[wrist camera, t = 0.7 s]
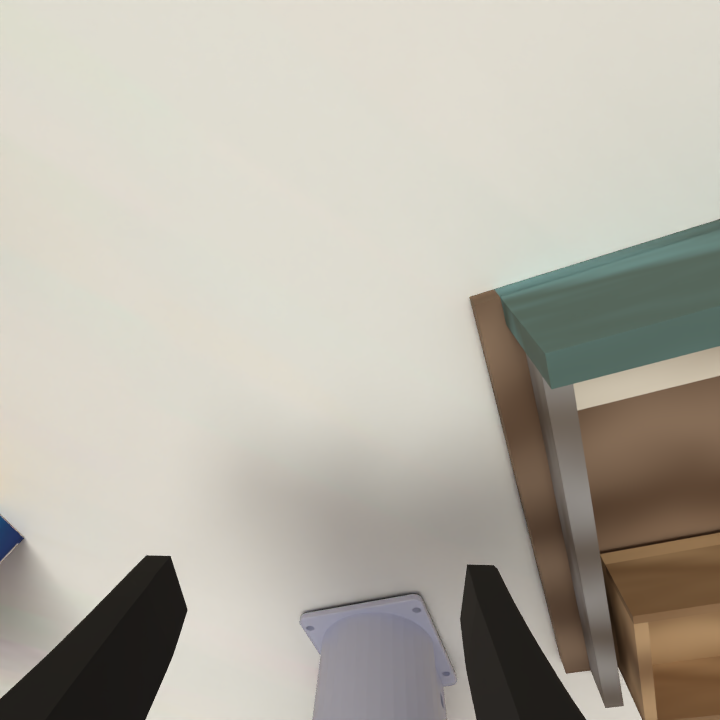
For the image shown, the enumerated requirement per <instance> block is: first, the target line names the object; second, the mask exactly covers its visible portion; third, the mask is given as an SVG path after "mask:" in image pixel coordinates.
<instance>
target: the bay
mask: <svg viewBox="0 0 720 720" xmlns="http://www.w3.org/2000/svg"><path fill="white" fill-rule="evenodd" d="M470 301H471V305H472V309H473V313H474V317H475V321H476V325H477V329H478V333H479V336H480V340H481V344H482V348H483V352H484V356H485V360H486V364H487V368H488V372H489V376H490V380H491V384H492V388H493V392H494V396H495V400H496V404H497V408H498V412H499V416H500V420H501V424H502V428H503V432H504V436H505V440H506V444H507V448H508V452H509V456H510V460H511V464H512V467H513V471H514V475H515V479H516V483H517V487H518V491H519V495H520V499H521V503H522V507H523V511H524V515H525V519H526V523H527V527H528V531H529V535H530V539H531V543H532V547H533V551H534V555H535V559H536V563H537V567H538V571H539V575H540V579H541V583H542V587H543V591H544V594H545V598H546V602H547V606H548V610H549V614H550V618H551V622H552V626H553V630H554V634H555V638H556V642H557V646H558V650H559V654H560V658H561V661H562V663H563V666H564V669H565V672H566V674H567V673H574V672H582V671H590V670H591V672H592V675H593V677H594V680H595V683H596V685H597V688H598V690H599V693H600V695H601V698H602V700H603V703H604V705H605V708H610V707H619V706H624V705H623V698H622V692H621V686H620V679H619V673H618V665H617V660H616V654H615V647H614V641H613V635H612V628H611V622H610V616H609V609H608V603H607V596H606V590H605V584H604V577H603V571H602V564H601V558H600V554H604V553H609V552H615V551H620V550H626V549H631V548H637V547H643V546H648V545H654V544H659V543H665V542H670V541H676V540H681V539H687V538H692V537H698V536H704V535H709V534H715V533H720V219H719V220H716V221H713V222H710V223H706V224H703V225H700V226H697V227H693V228H690V229H687V230H684V231H681V232H677V233H674V234H671V235H668V236H665V237H661V238H658V239H655V240H652V241H648V242H645V243H642V244H639V245H636V246H632V247H629V248H626V249H623V250H619V251H616V252H613V253H610V254H607V255H603V256H600V257H597V258H594V259H590V260H587V261H584V262H581V263H578V264H574V265H571V266H568V267H565V268H561V269H558V270H555V271H552V272H549V273H545V274H542V275H539V276H536V277H532V278H529V279H526V280H523V281H520V282H516V283H513V284H510V285H507V286H503V287H500V288H497V289H494V290H491V291H487V292H484V293H481V294H478V295H475V296H471V297H470Z"/></svg>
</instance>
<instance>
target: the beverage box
mask: <svg viewBox="0 0 720 720" xmlns="http://www.w3.org/2000/svg"><path fill="white" fill-rule="evenodd" d="M23 539H24V537H23V536H22V535H21V534H20V533H19V532H18V531H17V530H16V529H15V528H14V527H13V526H12V525H11V524H9V523H8V522H7V521H6V520H5V519H4V518H3V517H2V516H1V515H0V563H1V562H2V561H3V560H4V559H5V558H6V557H7V556H8V555H9V554H10V553H11V552H12V550H13V549H14V548H15V547H16V546H17V545H18V544H19V543H20V542H21V541H22V540H23Z"/></svg>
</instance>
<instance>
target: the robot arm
mask: <svg viewBox="0 0 720 720" xmlns="http://www.w3.org/2000/svg"><path fill="white" fill-rule="evenodd" d="M186 613H187V606H186V603H185V600H184V597H183V594H182V591H181V588H180V585H179V581H178V578H177V575H176V572H175V569H174V566H173V563H172V559H171V556H148V555H147V556H145V557H144V558H143V559H142V560H141V561H140V562H139V563H138V564H137V565H136V566H135V567H134V568H133V569H132V570H131V571H130V572H129V573H128V574H127V576H126V577H125V578H124V579H123V580H122V581H121V582H120V583H119V584H118V585H117V586H116V587H115V588H114V589H113V590H112V591H111V592H110V593H109V594H108V595H107V596H106V597H105V598H104V599H103V600H102V601H101V602H100V603H99V604H98V605H97V606H96V607H95V608H94V609H93V610H92V611H91V612H90V613H89V614H88V615H87V616H86V617H85V618H84V619H83V620H82V621H81V622H80V623H79V624H78V625H77V626H76V627H75V628H74V629H73V630H72V631H71V632H70V633H69V634H68V635H67V636H66V637H65V638H64V639H63V640H62V641H61V642H60V643H59V644H58V645H57V646H56V647H55V648H54V649H53V650H52V651H51V652H50V653H49V654H48V655H47V656H46V657H45V658H44V659H43V660H42V661H40V662H39V663H38V664H37V665H36V666H35V667H34V668H33V669H32V670H31V671H30V672H29V673H28V674H27V675H25V676H24V677H23V678H22V679H21V680H20V681H19V682H18V683H17V684H16V685H15V686H14V687H13V688H12V689H10V690H9V691H8V692H7V693H6V694H5V695H4V696H3V697H2V698H1V699H0V720H145V719H146V717H147V715H148V712H149V710H150V708H151V706H152V703H153V701H154V699H155V696H156V694H157V692H158V690H159V687H160V685H161V683H162V680H163V678H164V676H165V673H166V671H167V669H168V666H169V664H170V662H171V659H172V657H173V654H174V651H175V648H176V645H177V642H178V639H179V636H180V632H181V629H182V626H183V623H184V619H185V616H186ZM460 622H461V630H462V639H463V648H464V656H465V663H466V671H467V676H468V681H469V685H470V690H471V695H472V700H473V704H474V709H475V714H476V719H477V720H586V719H585V717H584V716H583V714H582V713H581V711H580V710H579V708H578V707H577V706H576V704H575V703H574V701H573V700H572V698H571V696H570V695H569V693H568V692H567V690H566V689H565V687H564V686H563V684H562V682H561V681H560V679H559V678H558V676H557V674H556V673H555V671H554V670H553V668H552V666H551V665H550V663H549V661H548V660H547V658H546V657H545V655H544V653H543V652H542V650H541V648H540V647H539V645H538V643H537V642H536V640H535V638H534V637H533V635H532V633H531V631H530V630H529V628H528V626H527V624H526V623H525V621H524V619H523V617H522V615H521V614H520V612H519V610H518V608H517V606H516V604H515V603H514V601H513V599H512V597H511V595H510V593H509V591H508V589H507V587H506V585H505V583H504V581H503V579H502V577H501V575H500V573H499V571H498V569H497V568H496V567H495V566H494V565H467V571H466V578H465V586H464V594H463V602H462V610H461V617H460ZM300 625H301V626H302V628H303V629H304V631H305V632H306V634H307V635H308V637H309V638H310V640H311V641H312V643H313V644H314V646H315V647H316V649H317V651H318V652H319V654H320V655H321V656H320V664H319V672H318V680H317V688H316V695H315V703H314V711H313V719H312V720H447V717H446V708H445V699H444V690H443V686H451V685H454V684H456V682H457V678H456V674H455V672H454V669H453V667H452V665H451V663H450V660H449V658H448V656H447V654H446V651H445V649H444V647H443V644H442V642H441V640H440V638H439V635H438V633H437V631H436V629H435V626H434V624H433V622H432V620H431V617H430V615H429V613H428V611H427V608H426V606H425V604H424V602H423V599H422V598H421V596H419V595H417V594H410V595H404V596H399V597H393V598H387V599H382V600H376V601H370V602H365V603H359V604H354V605H348V606H342V607H337V608H331V609H325V610H320V611H314V612H308V613H304V614H302V615H301V617H300Z"/></svg>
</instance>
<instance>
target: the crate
mask: <svg viewBox="0 0 720 720" xmlns="http://www.w3.org/2000/svg"><path fill="white" fill-rule="evenodd" d="M600 558H601V564H602V571H603V577H604V584H605V590H606V596H607V603H608V609H609V616H610V622H611V628H612V635H613V641H614V647H615V654H616V660H617V665H618V667H619V669H620V672H621V674H622V676H623V678H624V680H625V683H626V685H627V687H628V689H629V691H630V694H631V696H632V698H633V700H634V702H635V705H636V707H637V709H638V711H639V713H640V716H641V718H642V720H720V533H715V534H709V535H704V536H698V537H692V538H687V539H681V540H676V541H670V542H665V543H659V544H654V545H648V546H643V547H637V548H631V549H626V550H620V551H615V552H609V553H604V554H600Z"/></svg>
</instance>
